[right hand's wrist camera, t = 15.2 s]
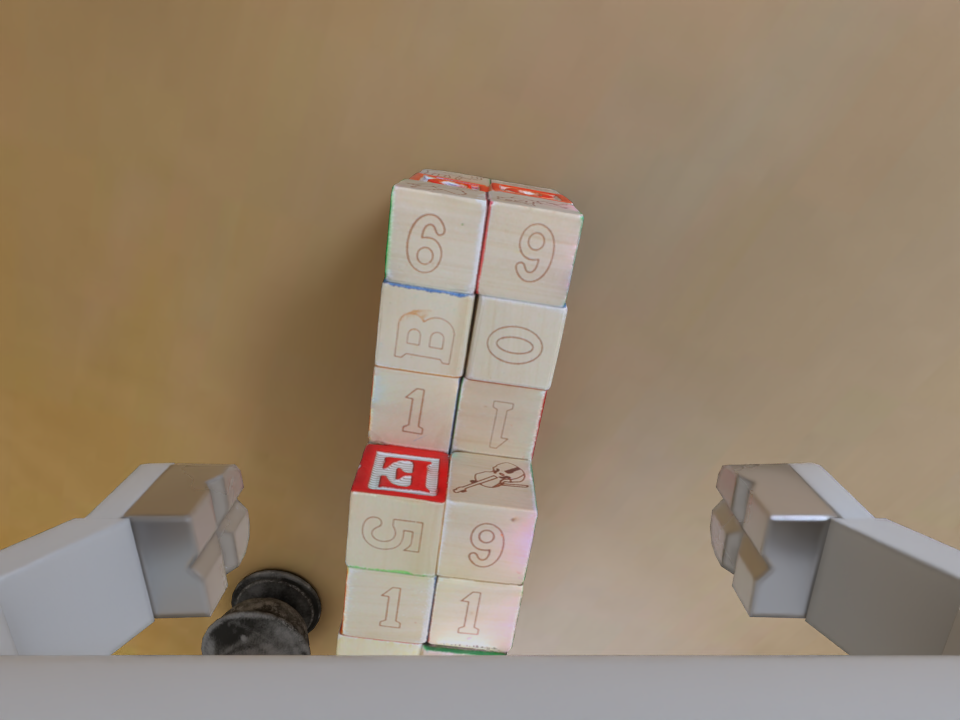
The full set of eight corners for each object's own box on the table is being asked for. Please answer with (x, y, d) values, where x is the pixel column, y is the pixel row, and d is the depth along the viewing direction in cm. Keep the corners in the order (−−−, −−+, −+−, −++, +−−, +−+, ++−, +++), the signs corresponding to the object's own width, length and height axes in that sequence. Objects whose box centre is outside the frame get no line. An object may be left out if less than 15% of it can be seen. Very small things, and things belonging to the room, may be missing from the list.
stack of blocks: (420, 164, 27) (375, 188, 15) (556, 187, 27) (613, 228, 16) (374, 548, 34) (321, 759, 23) (481, 562, 35) (482, 776, 23)
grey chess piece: (310, 654, 37) (236, 881, 26) (216, 626, 36) (98, 848, 25) (338, 584, 35) (272, 797, 24) (241, 553, 34) (124, 758, 23)
